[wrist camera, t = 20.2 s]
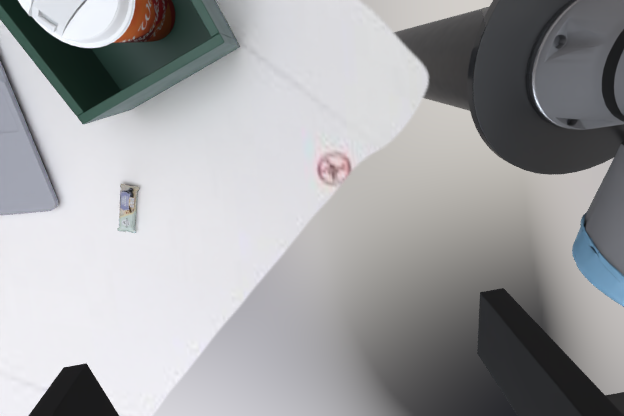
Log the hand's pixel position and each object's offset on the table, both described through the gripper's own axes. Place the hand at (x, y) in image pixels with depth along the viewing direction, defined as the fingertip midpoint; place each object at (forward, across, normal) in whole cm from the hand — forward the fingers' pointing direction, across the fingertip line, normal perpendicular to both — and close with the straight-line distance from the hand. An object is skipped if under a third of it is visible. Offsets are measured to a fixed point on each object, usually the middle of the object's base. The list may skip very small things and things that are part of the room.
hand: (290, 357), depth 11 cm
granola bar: (+33, +22, +4) cm, 39 cm away
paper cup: (+32, +11, -16) cm, 38 cm away
